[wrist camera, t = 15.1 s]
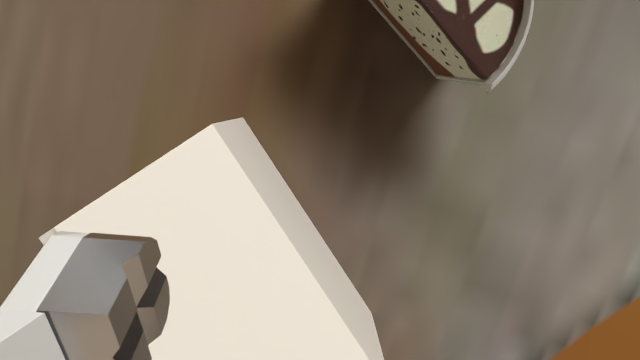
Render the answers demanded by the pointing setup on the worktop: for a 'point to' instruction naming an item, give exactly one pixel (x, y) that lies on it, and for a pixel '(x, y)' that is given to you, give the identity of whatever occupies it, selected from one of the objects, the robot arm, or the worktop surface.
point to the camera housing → (235, 256)
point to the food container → (462, 35)
